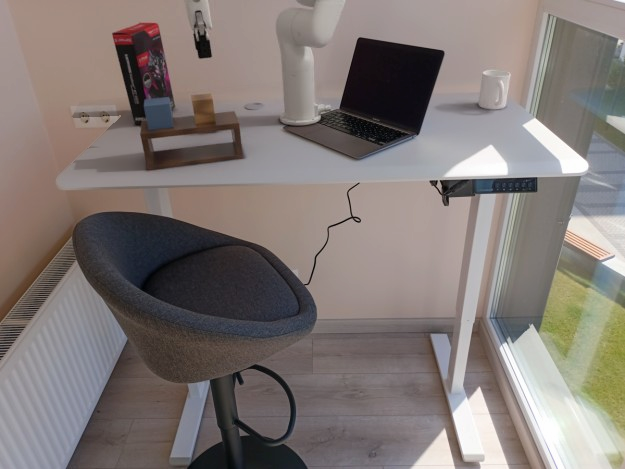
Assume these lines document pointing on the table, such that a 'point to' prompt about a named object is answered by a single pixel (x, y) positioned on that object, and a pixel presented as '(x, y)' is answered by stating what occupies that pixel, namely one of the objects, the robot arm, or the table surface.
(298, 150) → the table surface
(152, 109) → the blue box
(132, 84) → the graphics card box
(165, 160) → the brown rectangular fixture
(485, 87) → the mug
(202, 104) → the cardboard box
